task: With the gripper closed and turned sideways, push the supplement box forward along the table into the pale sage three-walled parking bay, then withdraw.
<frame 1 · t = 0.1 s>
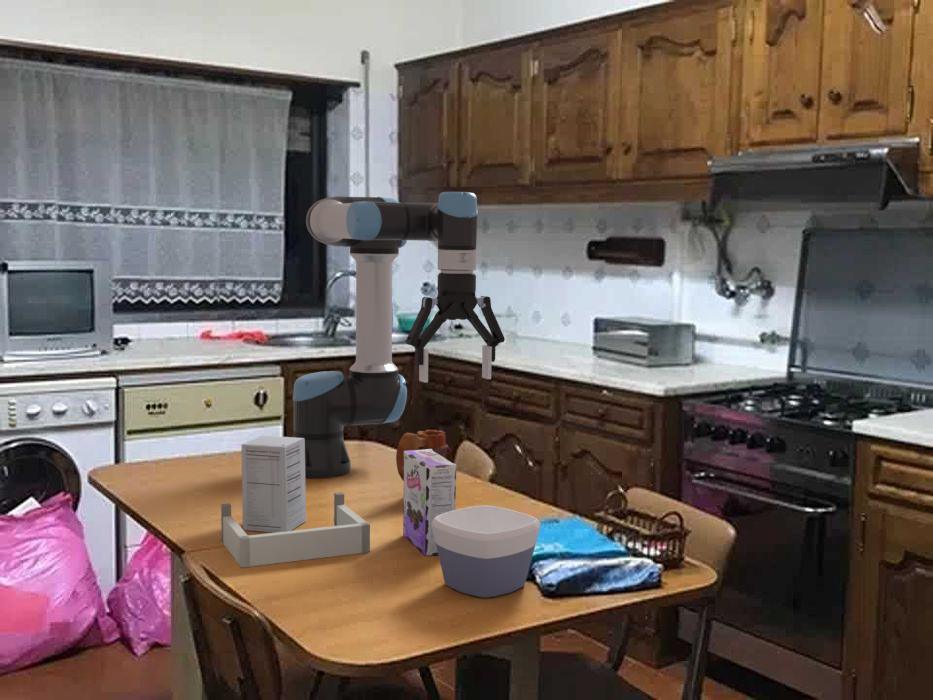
hand: (455, 380, 205), 28 cm above the table, fingers open, 13 cm apart
bowl: (484, 586, 170), on the table
candy box: (428, 545, 191), on the table
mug: (421, 500, 223), on the table
bay: (294, 545, 189), on the table
supplement box: (274, 527, 202), on the table
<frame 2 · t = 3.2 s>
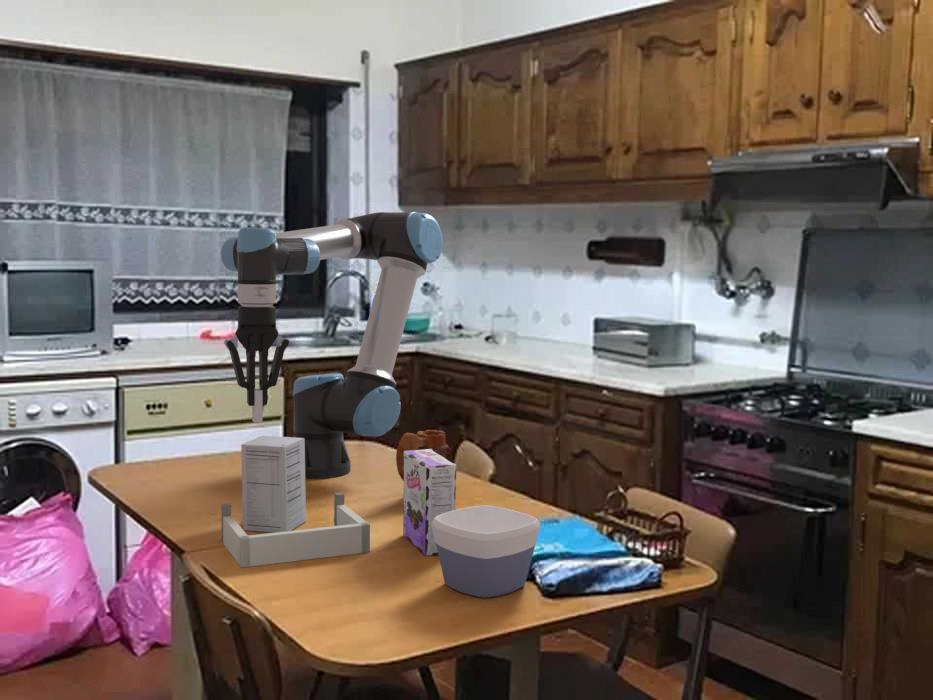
hand: (257, 421, 211), 18 cm above the table, fingers closed
nothing on the table moved.
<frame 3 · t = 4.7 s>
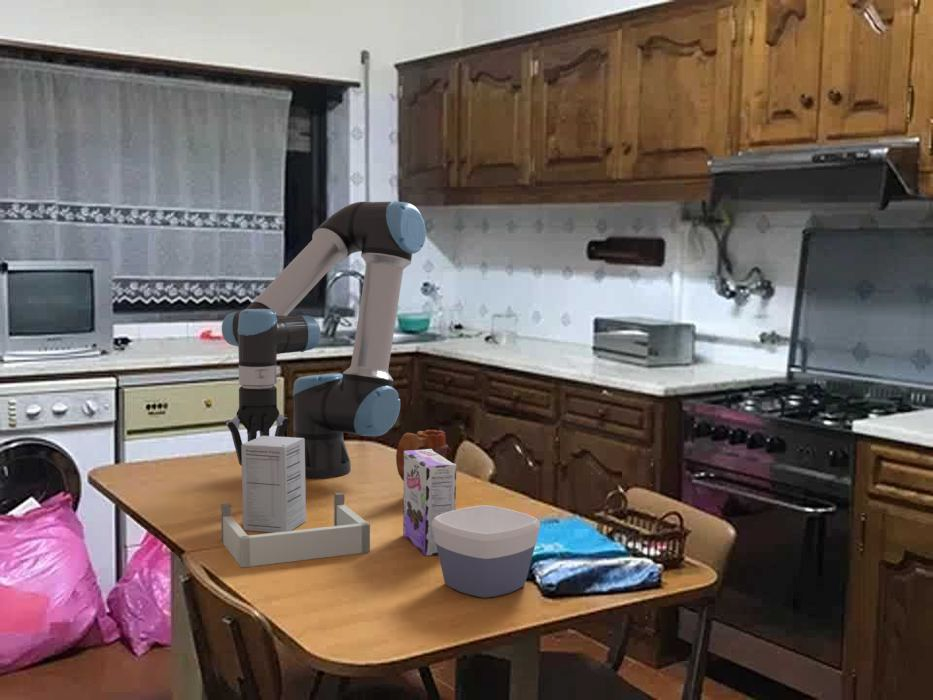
hand: (258, 499, 213), 2 cm above the table, fingers closed
nothing on the table moved.
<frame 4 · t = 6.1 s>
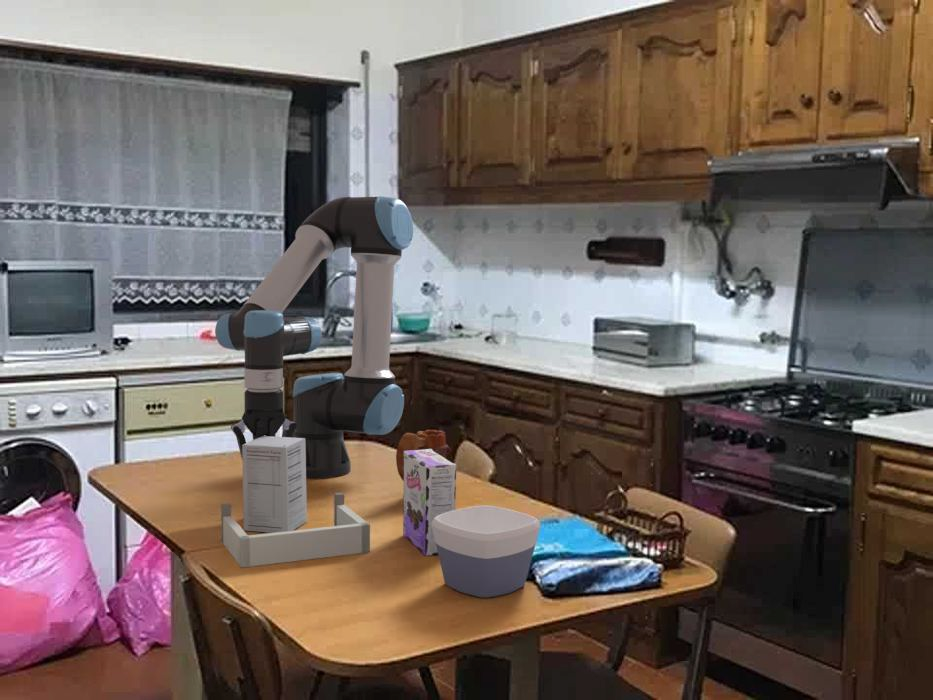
hand: (264, 506, 208), 2 cm above the table, fingers closed
supplement box: (275, 527, 201), on the table, touching gripper
everything else where it was.
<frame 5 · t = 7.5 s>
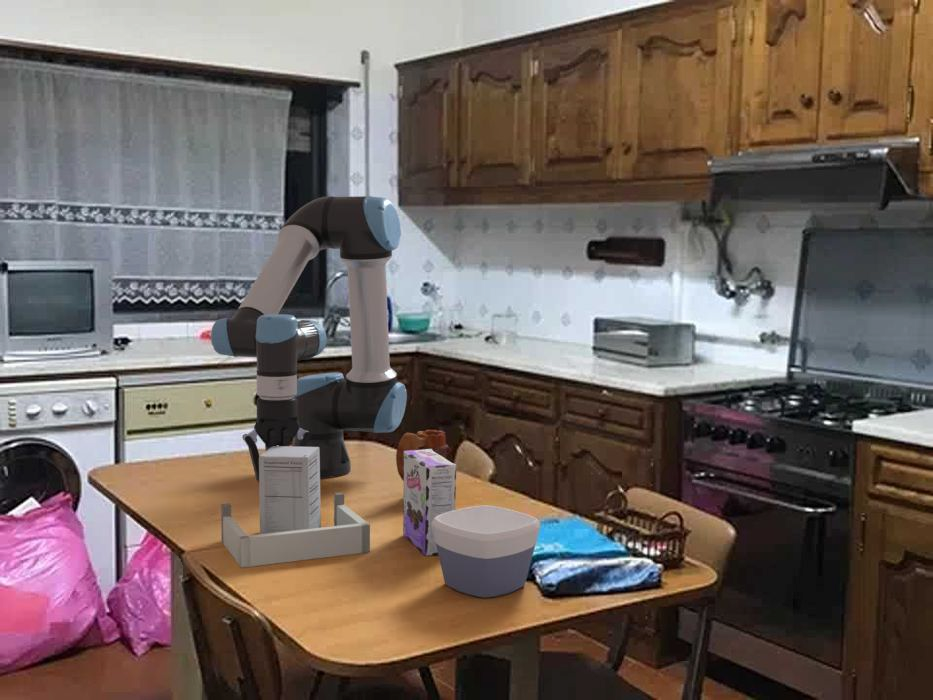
hand: (277, 519, 199), 2 cm above the table, fingers closed
supplement box: (291, 541, 193), on the table, touching gripper
everything else where it was.
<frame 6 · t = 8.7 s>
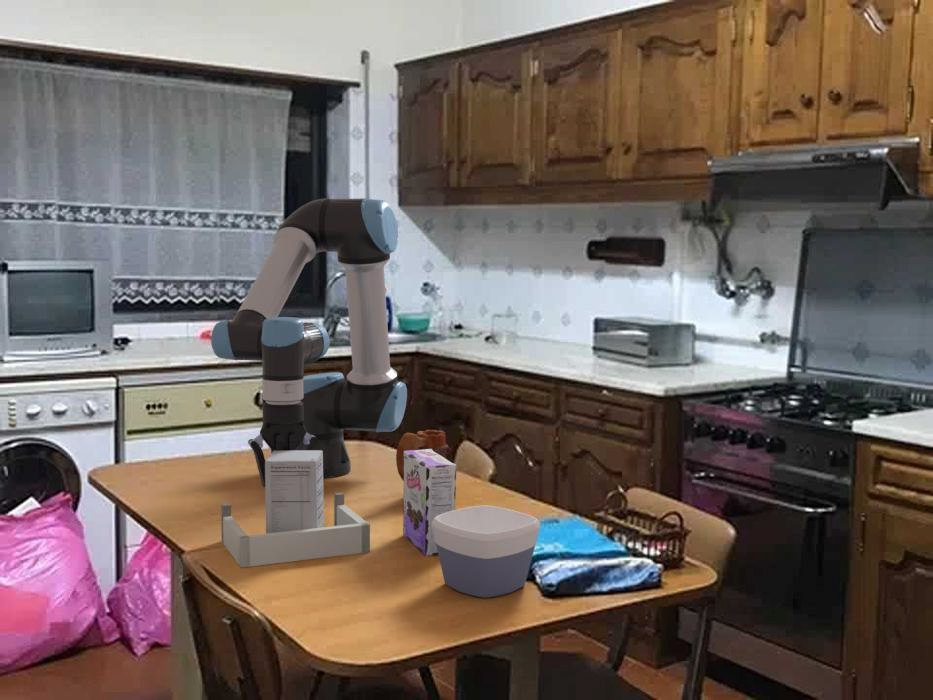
hand: (283, 525, 195), 2 cm above the table, fingers closed
supplement box: (295, 546, 189), on the table, touching gripper
everything else where it was.
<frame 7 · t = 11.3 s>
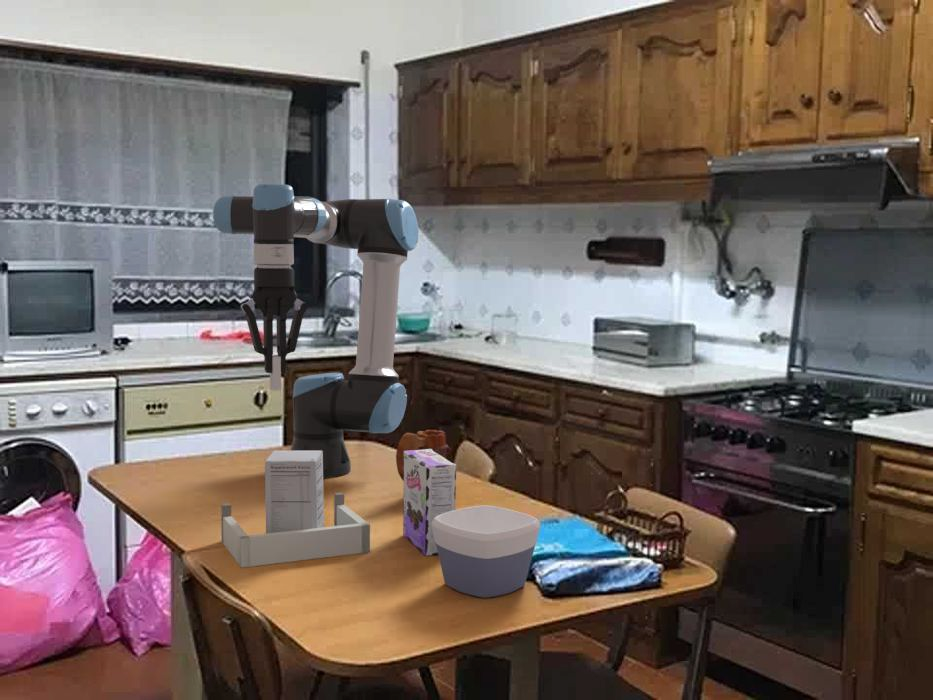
hand: (275, 389, 201), 26 cm above the table, fingers closed
supplement box: (295, 546, 189), on the table
everything else where it was.
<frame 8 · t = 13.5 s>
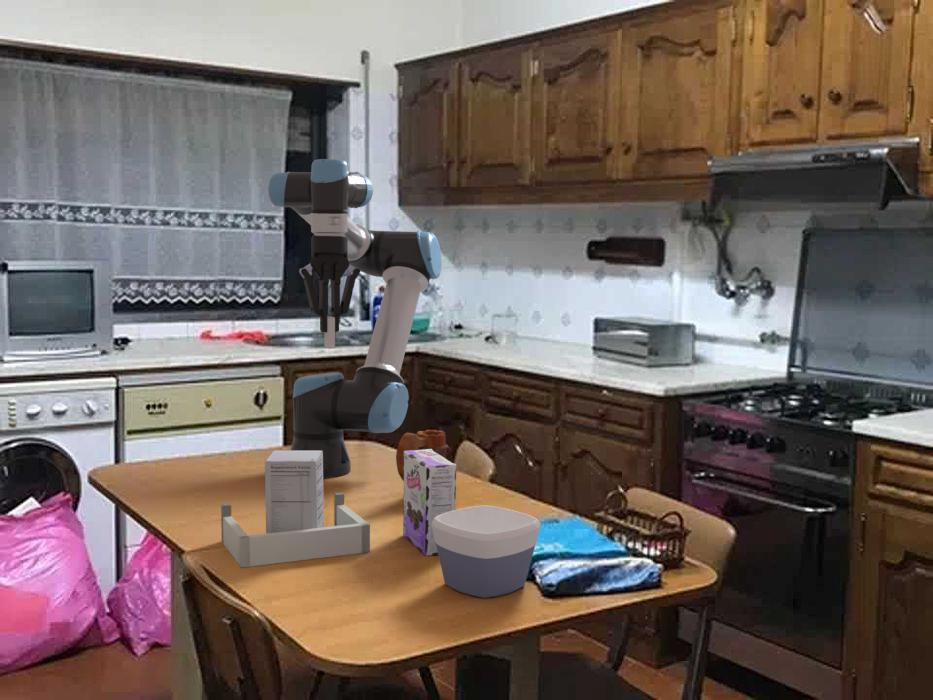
hand: (329, 347, 219), 32 cm above the table, fingers closed
nothing on the table moved.
at the end: supplement box inside the target area on the bay (0.7 cm from its centre), point 0.0 cm above the bay's base; supplement box tilted 0° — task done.
